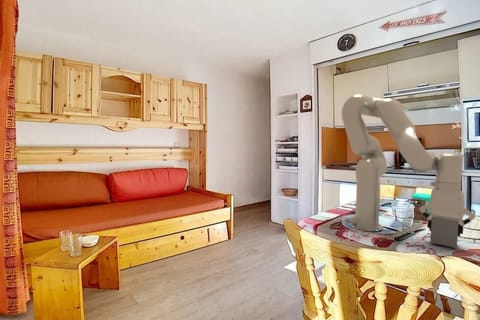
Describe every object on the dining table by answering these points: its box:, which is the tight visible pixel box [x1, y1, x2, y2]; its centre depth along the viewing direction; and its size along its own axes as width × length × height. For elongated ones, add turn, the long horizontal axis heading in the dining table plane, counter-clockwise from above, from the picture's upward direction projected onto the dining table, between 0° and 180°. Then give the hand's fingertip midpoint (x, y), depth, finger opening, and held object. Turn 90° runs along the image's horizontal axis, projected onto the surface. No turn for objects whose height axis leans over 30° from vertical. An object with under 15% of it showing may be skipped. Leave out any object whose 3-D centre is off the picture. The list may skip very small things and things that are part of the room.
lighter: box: [409, 197, 428, 221], centre depth 134 cm, size 8×3×10 cm, turn 58°
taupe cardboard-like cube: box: [429, 216, 459, 248], centre depth 100 cm, size 8×8×9 cm
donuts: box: [411, 192, 431, 215], centre depth 146 cm, size 10×10×10 cm
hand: (444, 232), depth 100 cm, fingers closed on taupe cardboard-like cube, 7 cm apart
